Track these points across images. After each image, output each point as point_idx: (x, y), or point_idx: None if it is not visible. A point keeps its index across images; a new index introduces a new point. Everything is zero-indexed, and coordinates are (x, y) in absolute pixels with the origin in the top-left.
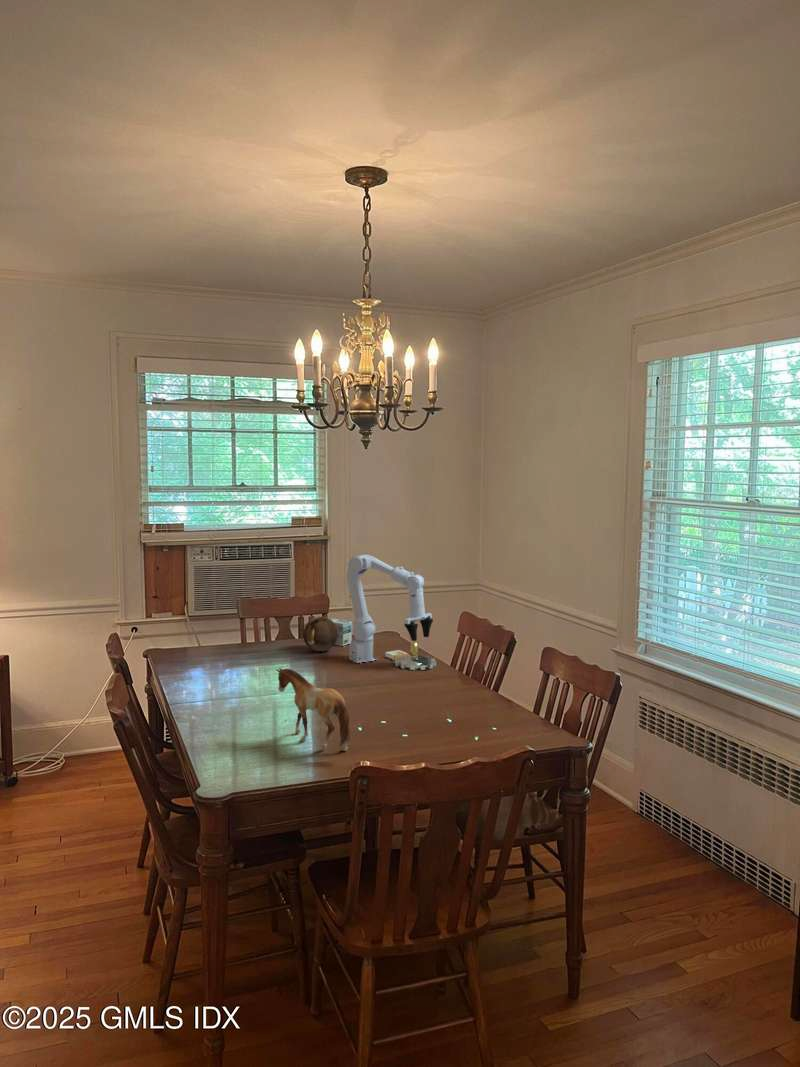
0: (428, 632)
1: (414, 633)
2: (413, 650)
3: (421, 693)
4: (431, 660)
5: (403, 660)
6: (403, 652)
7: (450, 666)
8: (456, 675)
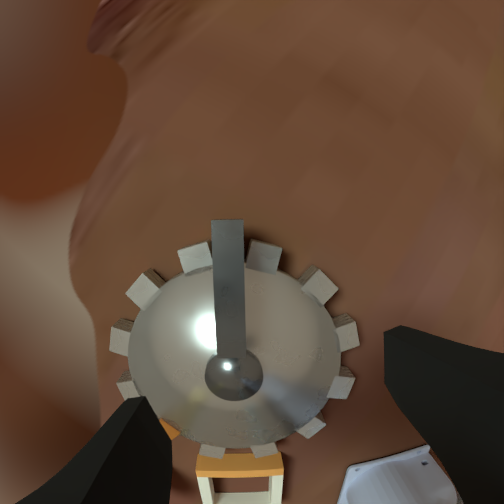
0: (116, 431)
1: (486, 355)
2: None
3: (440, 4)
4: (145, 316)
5: (304, 393)
6: (208, 489)
7: (73, 235)
8: (158, 69)
